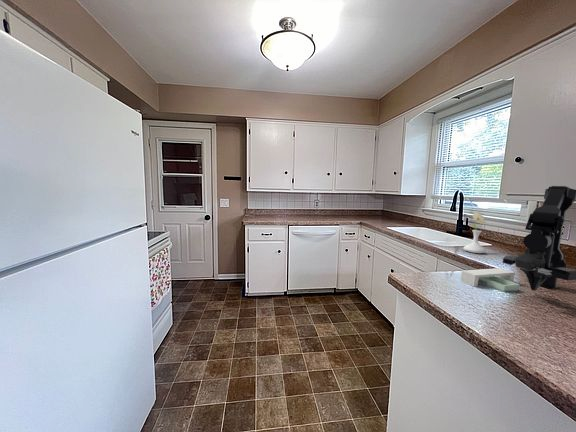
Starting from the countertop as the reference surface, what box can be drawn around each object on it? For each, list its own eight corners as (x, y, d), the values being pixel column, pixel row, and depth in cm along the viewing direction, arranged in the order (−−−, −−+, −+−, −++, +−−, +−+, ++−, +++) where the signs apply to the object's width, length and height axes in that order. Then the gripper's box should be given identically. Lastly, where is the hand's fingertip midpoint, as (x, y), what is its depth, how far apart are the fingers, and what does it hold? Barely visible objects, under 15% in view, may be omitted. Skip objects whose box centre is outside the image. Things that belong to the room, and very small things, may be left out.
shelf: (499, 278, 109) (500, 268, 108) (513, 283, 103) (515, 272, 103) (460, 281, 103) (462, 270, 102) (473, 286, 97) (475, 275, 97)
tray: (488, 279, 106) (489, 274, 106) (518, 290, 95) (519, 284, 95) (474, 281, 104) (475, 275, 103) (503, 292, 93) (504, 285, 93)
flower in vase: (489, 255, 149) (494, 214, 146) (467, 253, 152) (472, 213, 149) (479, 250, 161) (484, 212, 159) (459, 248, 165) (463, 211, 162)
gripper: (494, 241, 93) (489, 281, 95) (560, 255, 75) (552, 304, 77) (516, 241, 96) (510, 279, 98) (584, 254, 78) (575, 301, 80)
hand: (533, 290), depth 88 cm, fingers closed
